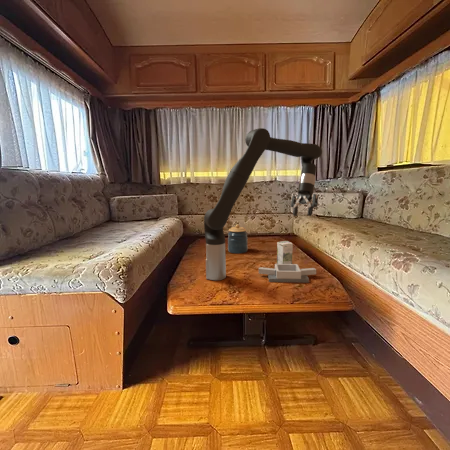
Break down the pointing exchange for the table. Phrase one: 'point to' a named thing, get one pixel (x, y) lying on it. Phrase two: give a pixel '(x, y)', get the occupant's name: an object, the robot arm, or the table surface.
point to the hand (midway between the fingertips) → (302, 215)
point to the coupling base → (287, 273)
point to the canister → (237, 240)
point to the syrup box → (284, 252)
